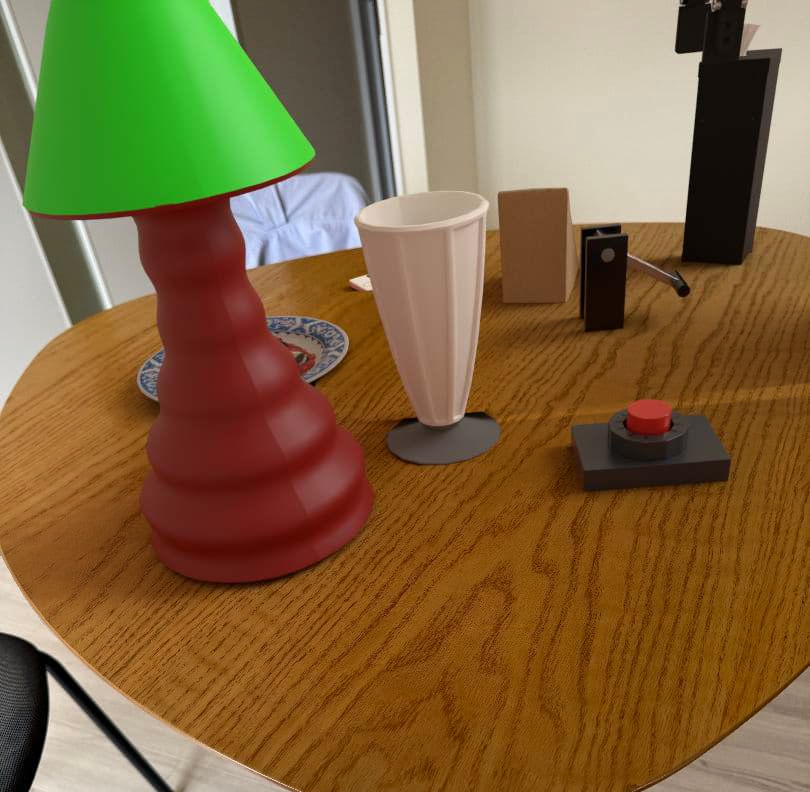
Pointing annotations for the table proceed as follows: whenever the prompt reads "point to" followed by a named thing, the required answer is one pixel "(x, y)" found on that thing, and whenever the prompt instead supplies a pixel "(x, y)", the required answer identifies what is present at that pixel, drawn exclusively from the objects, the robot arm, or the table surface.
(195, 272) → the table lamp
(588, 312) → the bracket
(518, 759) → the table surface
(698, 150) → the tall black pillar
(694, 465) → the control block
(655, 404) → the button
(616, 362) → the table surface
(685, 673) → the table surface
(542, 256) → the sandwich container
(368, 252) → the cup
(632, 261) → the lever
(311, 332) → the ceramic plate
